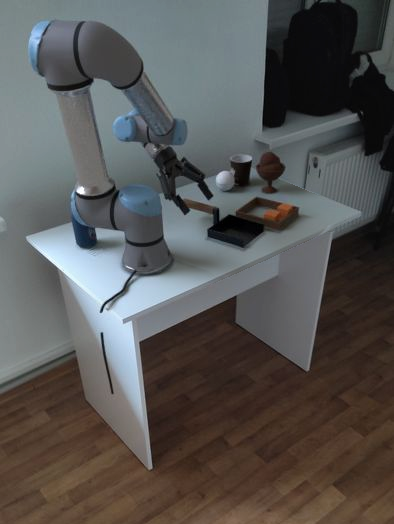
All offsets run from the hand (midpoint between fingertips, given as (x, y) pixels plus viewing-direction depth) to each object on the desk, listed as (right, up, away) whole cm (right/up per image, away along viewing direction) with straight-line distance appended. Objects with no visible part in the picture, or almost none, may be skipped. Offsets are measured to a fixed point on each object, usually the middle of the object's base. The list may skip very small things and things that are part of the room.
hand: (199, 205), depth 171 cm
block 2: (+28, 0, +6) cm, 29 cm away
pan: (+6, -8, +2) cm, 10 cm away
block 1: (+23, -3, +2) cm, 23 cm away
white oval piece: (+11, +13, +26) cm, 31 cm away
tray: (+24, -2, +7) cm, 25 cm away
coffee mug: (+17, +19, +33) cm, 41 cm away
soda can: (-37, -14, -2) cm, 40 cm away
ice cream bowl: (+27, +13, +25) cm, 39 cm away
